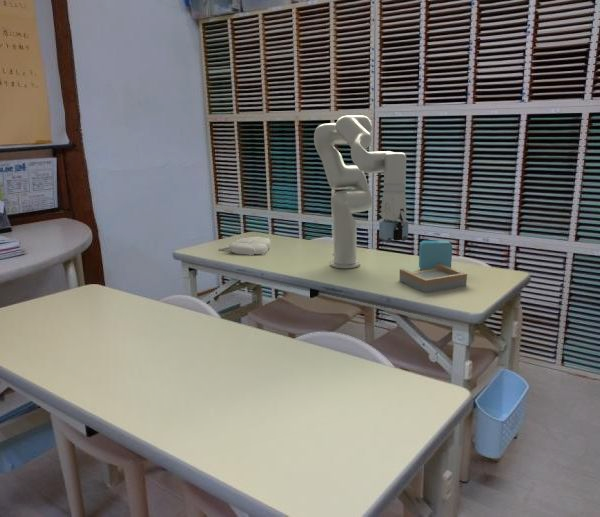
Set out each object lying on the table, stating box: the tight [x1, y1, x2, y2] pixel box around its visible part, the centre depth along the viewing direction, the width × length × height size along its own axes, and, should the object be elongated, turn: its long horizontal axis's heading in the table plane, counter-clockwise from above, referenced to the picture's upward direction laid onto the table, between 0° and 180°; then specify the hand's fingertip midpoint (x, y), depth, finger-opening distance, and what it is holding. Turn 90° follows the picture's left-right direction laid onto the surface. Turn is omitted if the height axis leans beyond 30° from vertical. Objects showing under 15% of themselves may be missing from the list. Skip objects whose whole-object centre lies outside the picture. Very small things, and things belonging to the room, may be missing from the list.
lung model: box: [218, 236, 271, 256], centre depth 240 cm, size 7×17×25 cm
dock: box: [399, 263, 468, 294], centre depth 184 cm, size 16×18×4 cm
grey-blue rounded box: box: [378, 220, 409, 243], centre depth 179 cm, size 6×9×7 cm, turn 111°
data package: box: [418, 240, 453, 271], centre depth 199 cm, size 12×4×12 cm, turn 85°
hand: (393, 238), depth 180 cm, fingers closed on grey-blue rounded box, 5 cm apart
